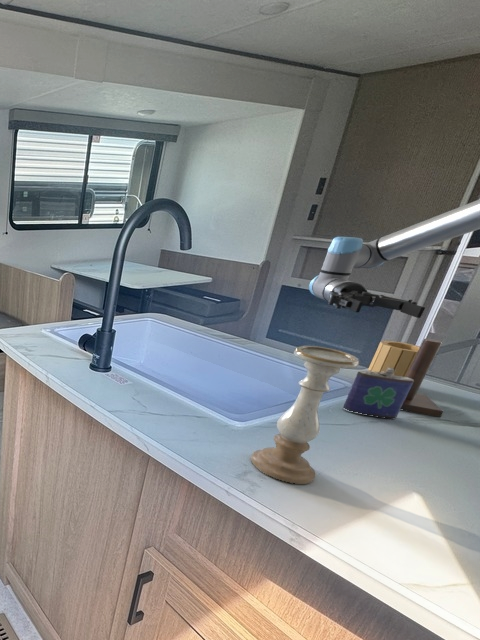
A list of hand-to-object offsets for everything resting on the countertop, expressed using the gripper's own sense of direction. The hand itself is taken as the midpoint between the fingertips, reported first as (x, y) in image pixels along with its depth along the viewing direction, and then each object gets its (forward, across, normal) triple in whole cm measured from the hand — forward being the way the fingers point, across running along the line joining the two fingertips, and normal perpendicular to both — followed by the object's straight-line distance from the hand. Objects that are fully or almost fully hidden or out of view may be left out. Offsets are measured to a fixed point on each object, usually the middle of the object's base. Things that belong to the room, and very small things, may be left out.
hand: (390, 310), depth 110 cm
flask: (+33, +15, -17) cm, 40 cm away
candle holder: (+62, +43, -17) cm, 78 cm away
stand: (+23, +4, -17) cm, 29 cm away
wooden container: (+10, 0, -17) cm, 19 cm away
